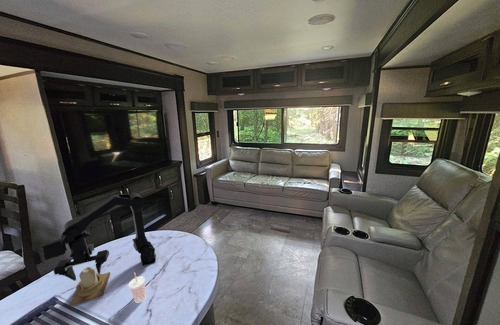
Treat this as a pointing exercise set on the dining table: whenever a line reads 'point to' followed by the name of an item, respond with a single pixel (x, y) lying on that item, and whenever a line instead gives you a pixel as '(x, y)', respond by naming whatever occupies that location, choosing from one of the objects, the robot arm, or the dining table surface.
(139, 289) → the beverage cup
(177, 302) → the dining table surface
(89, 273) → the candle
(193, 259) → the dining table surface
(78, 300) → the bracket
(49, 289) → the dining table surface
